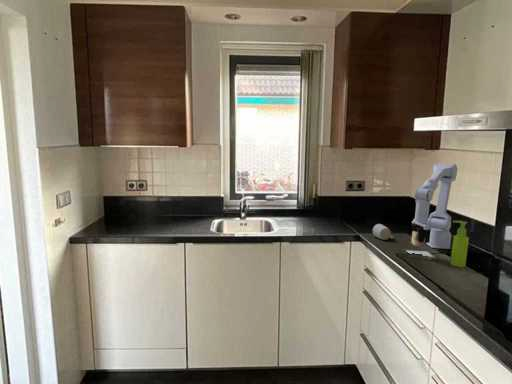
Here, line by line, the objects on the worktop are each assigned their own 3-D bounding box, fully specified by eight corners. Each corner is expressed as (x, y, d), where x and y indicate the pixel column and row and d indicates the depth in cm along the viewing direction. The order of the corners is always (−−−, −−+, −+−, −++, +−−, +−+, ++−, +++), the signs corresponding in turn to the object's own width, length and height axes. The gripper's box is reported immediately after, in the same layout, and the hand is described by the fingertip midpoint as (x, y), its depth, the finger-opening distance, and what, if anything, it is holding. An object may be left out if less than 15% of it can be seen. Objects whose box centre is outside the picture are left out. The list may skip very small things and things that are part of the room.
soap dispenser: (448, 261, 157) (454, 219, 154) (466, 264, 153) (471, 221, 150) (446, 264, 153) (451, 221, 150) (464, 268, 148) (469, 223, 145)
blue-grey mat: (427, 251, 170) (427, 251, 170) (437, 259, 158) (437, 259, 158) (398, 250, 171) (398, 249, 171) (406, 257, 159) (406, 257, 159)
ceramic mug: (379, 240, 187) (381, 227, 186) (371, 236, 195) (373, 223, 194) (396, 240, 189) (398, 227, 188) (387, 236, 197) (389, 223, 196)
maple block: (420, 243, 166) (422, 231, 165) (424, 246, 162) (425, 234, 161) (411, 242, 166) (412, 231, 166) (414, 245, 162) (415, 233, 161)
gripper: (408, 209, 169) (405, 236, 171) (419, 215, 155) (415, 244, 157) (422, 210, 169) (419, 237, 171) (435, 216, 154) (431, 245, 156)
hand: (418, 240), depth 164 cm, fingers closed on maple block, 4 cm apart
